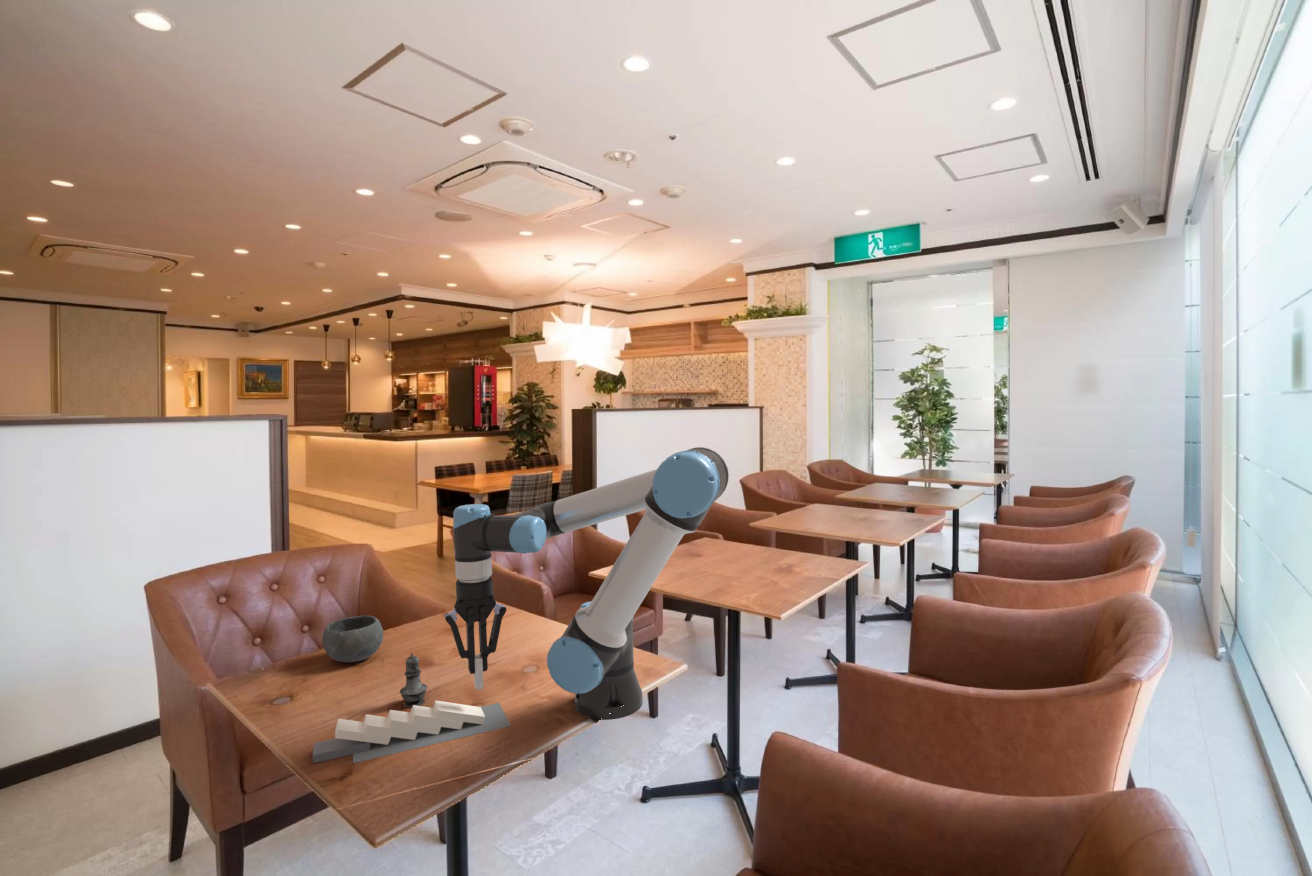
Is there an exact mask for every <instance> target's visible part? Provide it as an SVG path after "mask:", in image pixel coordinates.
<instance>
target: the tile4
mask: <svg viewBox="0 0 1312 876" xmlns="http://www.w3.org/2000/svg"><path fill="white" fill-rule="evenodd" d="M387 717H388V716H383V715H382V716H380V715H374V714H365V717H364V720H363V721H362V722H363V726H364V733H367V734H374V735H382V736H389V737H397V738H404V739H412V740H415V738H416V736H417V733H418V732H414V731H406V730H399V729H391V728H389V727H388V719H387Z"/></svg>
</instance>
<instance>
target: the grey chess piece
mask: <svg viewBox="0 0 1312 876" xmlns="http://www.w3.org/2000/svg"><path fill="white" fill-rule="evenodd" d="M409 655H410V656H408V657H407V658H406V659H405V672H404V676H405V680H406V681H405V682H406V683H405V686H403V687H402V688H401V689H400V690H399V693H400V694H401V698H402V700H403V701H405V702H403V706H404V707H406V708H412V707H413V705H416V706H422V705H424V703H425V702H426V700H425V699H424V697H425V695H426V692H427V689H428V685H427V684H425V683H422V681H421V673H422V670H421V669H420V661H419V660H420V659H419V657H418V656H416V655H414V653H413V652H411V653H410V654H409Z"/></svg>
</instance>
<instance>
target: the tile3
mask: <svg viewBox="0 0 1312 876" xmlns="http://www.w3.org/2000/svg"><path fill="white" fill-rule="evenodd" d="M386 717H387V719H388V727H389V728H391V729H399V730H406V731H414V732H422V733H429V734H437V735H438V734H439V732H440V729H441V727H438V726H431V725H423V724H416V723H412V718H411V713H410V712H408V711H402V710H394V709H389V711H388V715H387V716H386Z"/></svg>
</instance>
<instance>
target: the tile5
mask: <svg viewBox="0 0 1312 876" xmlns="http://www.w3.org/2000/svg"><path fill="white" fill-rule="evenodd" d="M363 722H364V721H357V720H351V719H345V718H343V719H342V718H338V720H337V722H336V725H335V729H334V730H335V731H334V732H335V733H334V739H335V738H339V739H347V740H355V741H362V742H370V743H378V744H386V745H388V744H389V741H390V738H391V737H389V736H382V735H374V734H367V733H364V726H363Z"/></svg>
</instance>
